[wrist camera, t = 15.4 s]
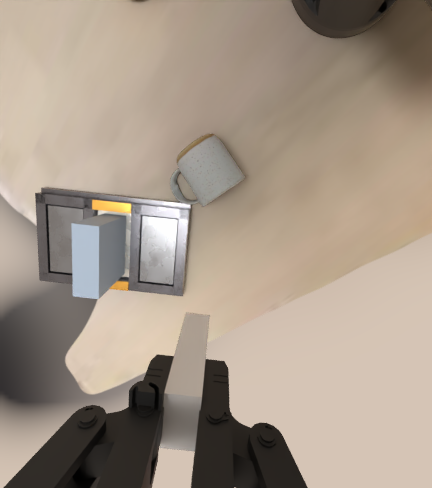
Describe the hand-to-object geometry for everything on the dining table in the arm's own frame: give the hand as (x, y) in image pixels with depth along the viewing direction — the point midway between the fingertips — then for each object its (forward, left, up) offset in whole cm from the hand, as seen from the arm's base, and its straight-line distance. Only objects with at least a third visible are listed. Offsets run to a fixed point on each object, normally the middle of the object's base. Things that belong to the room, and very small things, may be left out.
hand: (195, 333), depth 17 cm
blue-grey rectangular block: (+3, -16, -28) cm, 33 cm away
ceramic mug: (-9, -2, -30) cm, 31 cm away
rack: (+3, -16, -29) cm, 34 cm away
